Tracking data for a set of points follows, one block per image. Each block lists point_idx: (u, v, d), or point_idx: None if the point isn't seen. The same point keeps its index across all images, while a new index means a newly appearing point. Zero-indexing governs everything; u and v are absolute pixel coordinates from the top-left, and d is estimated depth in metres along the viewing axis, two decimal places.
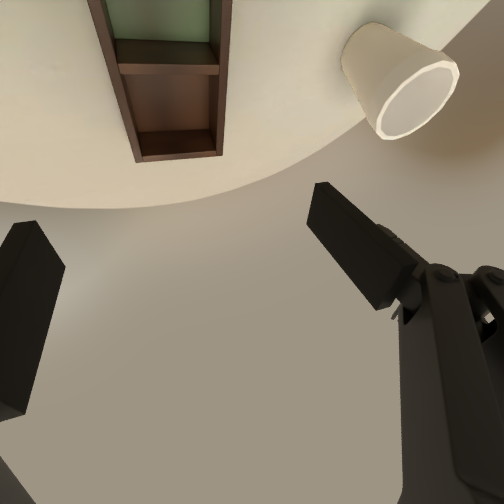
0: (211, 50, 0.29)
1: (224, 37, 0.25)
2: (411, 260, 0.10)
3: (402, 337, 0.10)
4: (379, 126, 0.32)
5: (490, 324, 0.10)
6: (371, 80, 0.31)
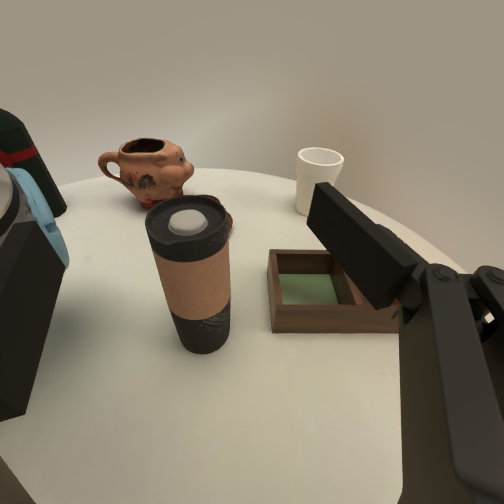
0: (332, 267, 0.44)
1: (321, 252, 0.42)
2: (411, 260, 0.10)
3: (402, 337, 0.10)
4: (337, 163, 0.51)
5: (490, 324, 0.10)
6: None
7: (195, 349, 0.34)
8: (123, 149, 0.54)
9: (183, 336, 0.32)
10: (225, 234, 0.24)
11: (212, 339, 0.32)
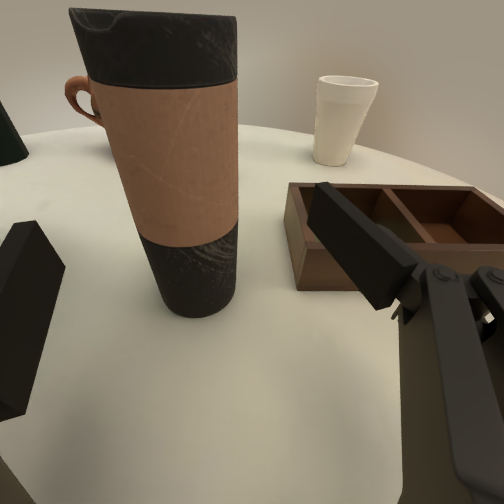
0: (373, 210, 0.32)
1: (360, 186, 0.31)
2: (411, 260, 0.10)
3: (402, 337, 0.10)
4: (371, 85, 0.39)
5: (490, 324, 0.10)
6: (345, 115, 0.41)
7: (184, 309, 0.22)
8: None
9: (164, 286, 0.21)
10: (233, 53, 0.12)
11: (210, 290, 0.21)
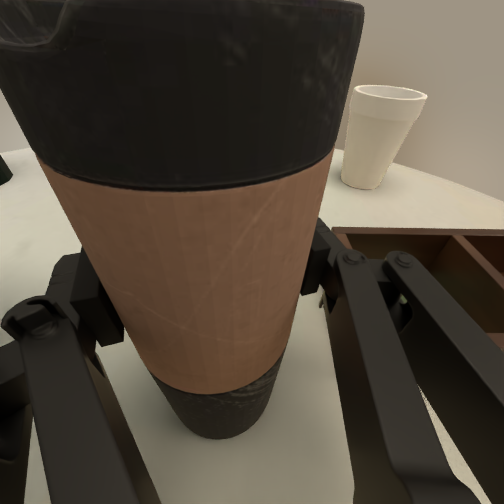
0: (436, 259, 0.26)
1: (424, 231, 0.24)
2: (324, 245, 0.10)
3: (330, 326, 0.10)
4: (420, 98, 0.33)
5: (406, 304, 0.10)
6: (386, 133, 0.35)
7: (205, 434, 0.15)
8: None
9: (178, 412, 0.14)
10: (348, 88, 0.06)
11: (245, 418, 0.14)
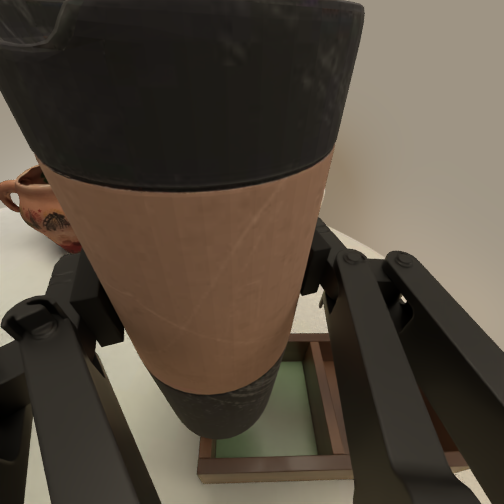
0: (305, 355, 0.30)
1: None
2: (324, 245, 0.10)
3: (330, 326, 0.10)
4: None
5: (406, 304, 0.10)
6: None
7: (205, 434, 0.15)
8: (29, 176, 0.40)
9: (178, 413, 0.14)
10: (348, 88, 0.06)
11: (245, 418, 0.14)
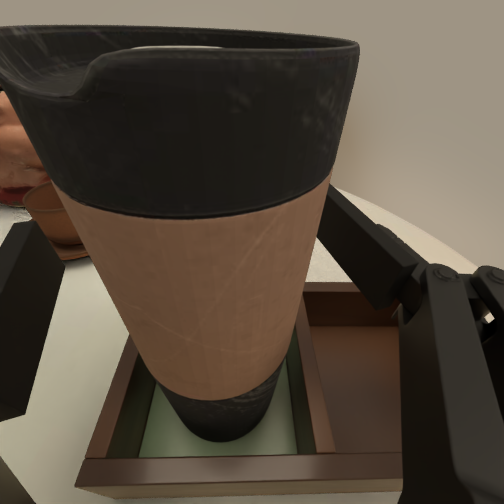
0: None
1: None
2: (411, 260, 0.10)
3: (402, 337, 0.10)
4: None
5: (490, 324, 0.10)
6: None
7: (207, 437, 0.16)
8: None
9: (181, 417, 0.14)
10: (345, 115, 0.06)
11: (247, 422, 0.14)
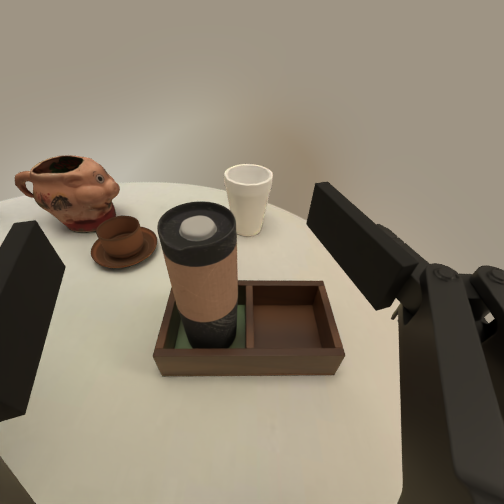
0: (245, 298, 0.41)
1: None
2: (411, 260, 0.10)
3: (402, 337, 0.10)
4: (262, 182, 0.48)
5: (490, 324, 0.10)
6: (245, 203, 0.50)
7: None
8: (40, 168, 0.51)
9: (192, 338, 0.33)
10: (234, 239, 0.25)
11: (220, 340, 0.33)
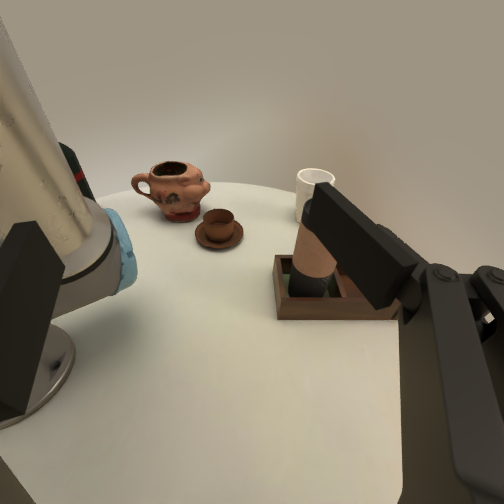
0: None
1: None
2: (411, 260, 0.10)
3: (402, 337, 0.10)
4: None
5: (490, 324, 0.10)
6: None
7: None
8: (152, 171, 0.65)
9: (300, 292, 0.48)
10: None
11: (320, 294, 0.48)
